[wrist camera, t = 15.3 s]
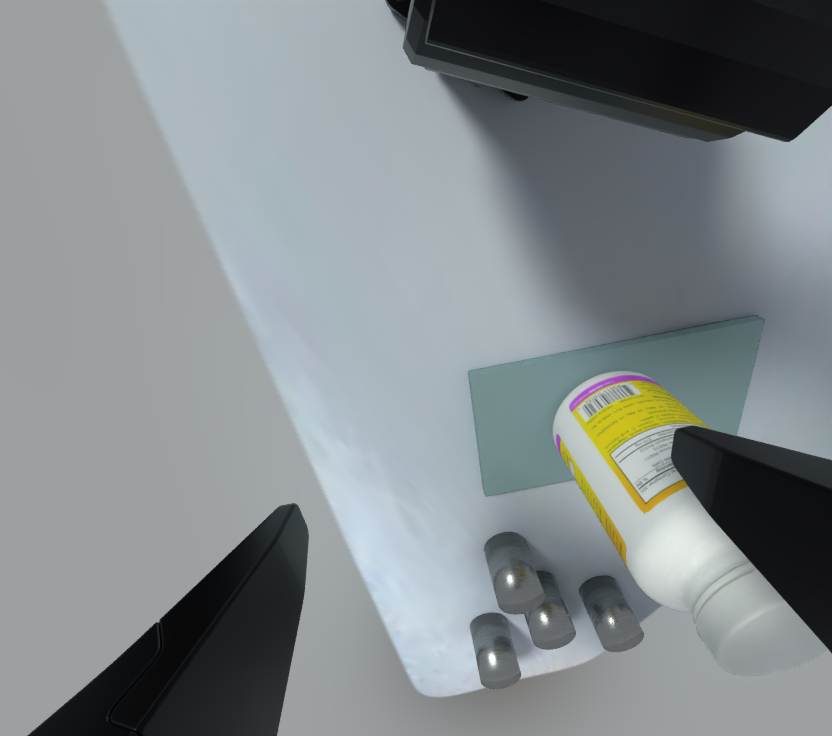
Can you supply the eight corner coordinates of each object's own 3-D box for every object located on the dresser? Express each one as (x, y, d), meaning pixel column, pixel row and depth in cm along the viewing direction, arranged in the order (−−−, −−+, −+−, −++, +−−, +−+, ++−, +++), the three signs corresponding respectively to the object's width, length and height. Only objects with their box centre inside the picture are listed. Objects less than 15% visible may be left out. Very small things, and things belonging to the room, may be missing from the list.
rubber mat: (467, 371, 24) (470, 376, 24) (756, 314, 24) (764, 319, 23) (483, 489, 28) (485, 496, 28) (726, 442, 28) (733, 448, 28)
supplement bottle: (624, 467, 28) (796, 699, 17) (530, 449, 26) (649, 689, 15) (683, 378, 25) (941, 586, 14) (581, 352, 23) (775, 561, 12)
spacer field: (448, 512, 29) (458, 565, 26) (774, 449, 29) (830, 493, 26) (472, 637, 36) (482, 692, 33) (732, 587, 36) (771, 636, 33)
